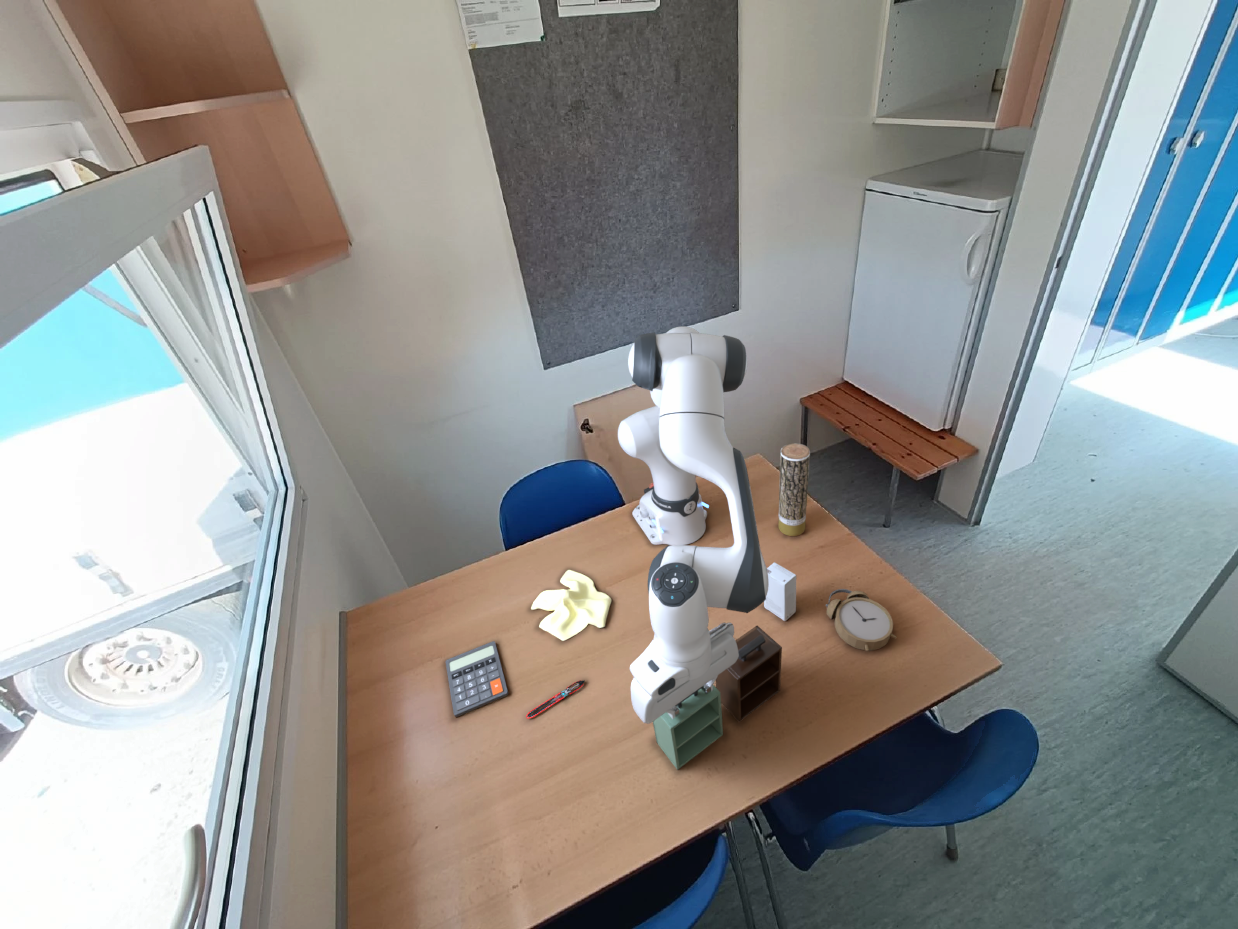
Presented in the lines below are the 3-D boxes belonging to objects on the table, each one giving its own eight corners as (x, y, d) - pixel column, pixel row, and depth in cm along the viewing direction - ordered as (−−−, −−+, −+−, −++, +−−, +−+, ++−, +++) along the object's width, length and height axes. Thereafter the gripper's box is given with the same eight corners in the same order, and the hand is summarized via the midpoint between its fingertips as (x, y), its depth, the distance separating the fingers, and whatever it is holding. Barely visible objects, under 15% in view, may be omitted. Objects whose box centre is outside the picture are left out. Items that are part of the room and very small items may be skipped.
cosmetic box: (796, 611, 128) (798, 574, 121) (784, 623, 126) (785, 585, 119) (774, 597, 132) (775, 560, 125) (762, 608, 130) (762, 571, 123)
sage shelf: (701, 709, 112) (723, 734, 107) (656, 742, 108) (677, 770, 103) (696, 657, 102) (719, 683, 97) (646, 691, 98) (669, 719, 93)
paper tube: (809, 526, 149) (815, 448, 135) (796, 541, 145) (801, 462, 131) (786, 517, 153) (789, 440, 139) (773, 531, 150) (775, 453, 135)
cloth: (623, 620, 133) (619, 602, 129) (549, 653, 128) (543, 636, 124) (589, 561, 150) (585, 544, 146) (523, 589, 145) (517, 572, 142)
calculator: (453, 715, 117) (445, 659, 129) (455, 717, 118) (446, 662, 130) (507, 692, 120) (494, 640, 132) (508, 694, 120) (495, 642, 132)
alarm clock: (861, 651, 114) (816, 593, 124) (855, 662, 117) (812, 605, 128) (906, 630, 116) (858, 575, 126) (899, 642, 120) (853, 587, 130)
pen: (524, 715, 116) (523, 713, 116) (582, 678, 121) (582, 676, 121) (528, 722, 115) (527, 720, 114) (587, 684, 120) (586, 683, 119)
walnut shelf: (757, 668, 117) (780, 690, 113) (716, 698, 113) (739, 722, 109) (757, 615, 108) (782, 637, 103) (712, 646, 104) (737, 670, 99)
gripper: (720, 606, 96) (723, 658, 104) (620, 671, 88) (632, 721, 96) (746, 629, 92) (747, 681, 99) (643, 700, 84) (653, 750, 91)
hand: (690, 702), depth 98 cm, fingers closed on sage shelf, 6 cm apart
